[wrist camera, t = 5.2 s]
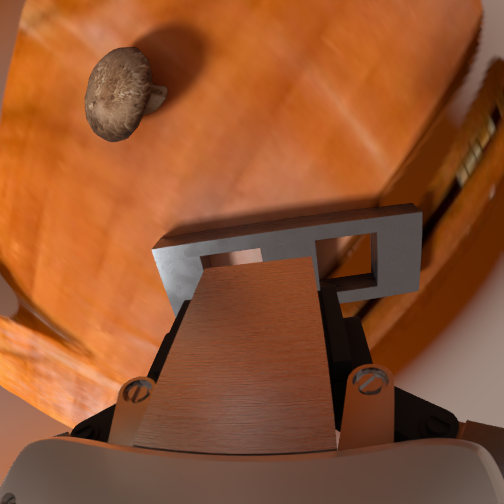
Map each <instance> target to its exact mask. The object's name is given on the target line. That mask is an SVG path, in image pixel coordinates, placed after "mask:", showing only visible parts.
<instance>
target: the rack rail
mask: <svg viewBox="0 0 504 504" xmlns="http://www.w3.org/2000/svg"><path fill="white" fill-rule="evenodd" d="M367 233H370V235H371V272H372V273H367V274H360V275H353V276H346V277H339V278H331V279H324V280H319V274H318V265H317V255H316V247H315V240H322V239H329V238H337V237H344V236H352V235H359V234H367ZM256 248H260V249H261V254H262V259H263V262H267V261H276V260H284V259H293V258H301V257H310V256H312V262H313V268H314V274H315V280H316V286H317V291H320V290H321V288H320V287H321V286H329V285H335V287H336V291H337V295H338V299H339V303H346V302H353V301H360V300H367V299H373V298H379V297H386V296H392V295H398V294H403V293H409V292H415V291H419V279H420V266H421V249H422V211H421V210H420V209H419V208H417V207H416V206H415V205H414V204H413V203H409V204H399V205H391V206H382V207H374V208H366V209H358V210H350V211H342V212H334V213H327V214H319V215H312V216H305V217H297V218H290V219H283V220H276V221H269V222H262V223H255V224H248V225H242V226H235V227H229V228H222V229H215V230H209V231H203V232H196V233H190V234H184V235H178V236H172V237H166V238H160V240H159V241H158V242H157V243H156V244H155V246H154V247H153V248H152V249H151V250H152V253H153V256H154V259H155V261H156V264H157V267H158V270H159V273H160V276H161V279H162V282H163V284H164V287H165V290H166V293H167V295H168V298H169V301H170V303H171V306H172V309H173V311H174V314H175V317H177V314H178V312H179V310H180V308H181V306H182V304H183V302H184V300H191V299H192V297H193V295H194V292H195V290H196V288H197V285H198V283H199V281H200V278H201V276H202V274H203V272H204V269H205V268H212V267H211V263H210V260H209V256H208V255H212V254H219V253H226V252H234V251H241V250H248V249H256Z"/></svg>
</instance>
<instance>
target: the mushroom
mask: <svg viewBox="0 0 504 504" xmlns="http://www.w3.org/2000/svg"><path fill="white" fill-rule="evenodd" d="M167 93H168V89H167V88H166V86H157V85H153V84H152V72H151V68H150V63H149V60H148V59H147V58H146V57H145V55H144V54H143V53H142V52H141V51H140V50H139V49H138V48H136V47H125V48H118V49H114V50H113V51H111V52H109V53H108V54H107V55H105V56H104V57H103V58H102V59H101V60H100V61H99V62H98V64H97V65H96V66H95V67H94V69H93V71H92V73H91V75H90V77H89V82H88V87H87V91H86V95H85V111H86V119H87V120H88V122H89V124H90V126H91V128H92V130H93V131H94V133H96V134H97V135H98V136H100V137H101V138H103V139H105V140H107V141H110V142H118V141H121V140H125V139H127V138H129V136H130V135H131V134H132V133H133V132H134V131H135V130H136V128H137V127H138V126H139V123H140V121H141V119H142V117H143V115H147V114H150V113H152V112H154V111H156V110H157V109H158V108H159V107H160V106H161V105H162V103H163V102H164V101H165V99H166V97H167Z"/></svg>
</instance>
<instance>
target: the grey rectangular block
mask: <svg viewBox="0 0 504 504" xmlns="http://www.w3.org/2000/svg"><path fill="white" fill-rule="evenodd" d="M133 446H134V447H136V448H143V449H150V450H159V451H168V452H178V453H189V454H204V455H227V456H270V455H294V454H309V453H320V452H330V451H337V443H336V432H335V422H334V412H333V403H332V394H331V385H330V377H329V369H328V361H327V354H326V346H325V339H324V332H323V325H322V318H321V311H320V305H319V298H318V292H317V286H316V280H315V274H314V268H313V262H312V256H310V257H301V258H293V259H284V260H276V261H267V262H258V263H249V264H241V265H232V266H223V267H214V268H205V269H204V272H203V274H202V276H201V278H200V281H199V283H198V285H197V288H196V290H195V292H194V295H193V297H192V299H191V301H190V304H189V306H188V308H187V311H186V313H185V316H184V318H183V320H182V323H181V325H180V327H179V330H178V332H177V334H176V337H175V339H174V342H173V344H172V346H171V349H170V351H169V354H168V356H167V359H166V361H165V363H164V366H163V368H162V371H161V373H160V376H159V378H158V381H157V383H156V386H155V388H154V391H153V393H152V396H151V398H150V401H149V403H148V406H147V409H146V411H145V414H144V416H143V419H142V421H141V424H140V427H139V429H138V432H137V434H136V437H135V440H134V442H133Z"/></svg>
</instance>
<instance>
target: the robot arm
mask: <svg viewBox="0 0 504 504" xmlns="http://www.w3.org/2000/svg"><path fill="white" fill-rule="evenodd" d="M320 288H321V290H320V291H317V292H318V298H319V305H320V311H321V318H322V325H323V332H324V339H325V346H326V354H327V361H328V369H329V377H330V385H331V394H332V403H333V412H334V422H335V429H336V430H338V431H339V432H340V438H339V444H338V450H337V451H330V452H320V453H309V454H294V455H270V456H227V455H204V454H189V453H178V452H168V451H159V450H150V449H143V448H136V447H134V446H133V442H134V440H135V437H136V434H137V432H138V429H139V427H140V424H141V421H142V419H143V416H144V414H145V411H146V409H147V406H148V403H149V401H150V398H151V396H152V393H153V391H154V388H155V386H156V383H157V381H158V378H159V376H160V373H161V371H162V368H163V366H164V363H165V361H166V359H167V356H168V354H169V351H170V349H171V346H172V344H173V342H174V339H175V337H176V334H177V332H178V330H179V327H180V325H181V323H182V320H183V318H184V316H185V313H186V311H187V308H188V306H189V304H190V301H191V300H184V302H183V304H182V306H181V308H180V310H179V312H178V314H177V317H176V319H175V321H174V323H173V325H172V328H171V330H170V332H169V333H167V334H166V335H165V337H164V339H163V342H162V344H161V346H160V348H159V351H158V353H157V355H156V357H155V359H154V362H153V364H152V366H151V368H150V371H149V373H148V375H147V377H136V378H133V379H131V380H129V381H128V382H126V383H125V384H124V385H123V386H122V387H121V389H120V391H119V394H118V398H117V403H116V404H114V405H112V406H110V407H109V408H107V409H105V410H103V411H101V412H99V413H98V414H96V415H94V416H92V417H90V418H88V419H86V420H84V421H82V422H81V423H79V424H78V425H76V426H75V428H74V429H73V430H72V432H71V434H70V433H69V432H65V433H62V434H59V435H56V436H53V437H48V438H41V439H38V440H35V441H32V442H31V443H29V444H28V445H27V446H26V447H24V449H23V450H22V451H21V452H20V454H19V455H18V457H17V458H16V460H15V461H14V463H13V465H12V466H11V468H10V470H9V471H8V474H7V475H6V477H5V479H4V481H3V483H2V485H1V487H0V504H504V428H501V427H496V426H492V425H487V424H483V423H478V422H473V421H469V420H467V421H466V423H463V422H459V421H458V420H457V418H456V417H455V416H454V414H453V413H451V412H449V411H448V410H446V409H443V408H441V407H439V406H436V405H435V404H432V403H430V402H428V401H426V400H423V399H421V398H419V397H417V396H414V395H413V394H410V393H408V392H406V391H404V390H401V389H400V388H397V387H395V386H394V378H393V375H392V373H391V372H390V370H388V369H387V368H385V367H384V366H381V365H378V364H373V362H372V359H371V355H370V352H369V348H368V344H367V341H366V337H365V334H364V331H363V327H362V324H361V321H360V318H359V316H356V317H348V318H343V316H342V312H341V308H340V303H339V299H338V295H337V291H336V287H335V285H329V286H321V287H320Z"/></svg>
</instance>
